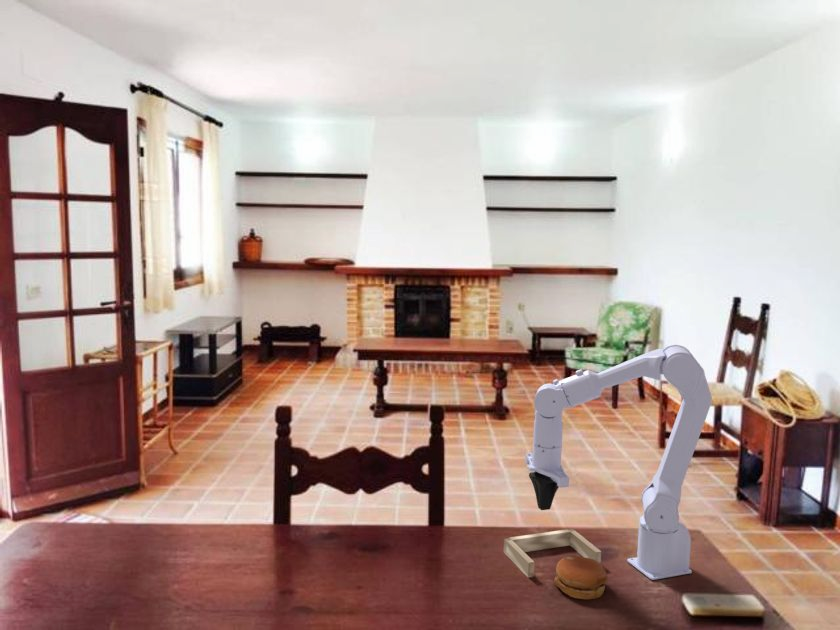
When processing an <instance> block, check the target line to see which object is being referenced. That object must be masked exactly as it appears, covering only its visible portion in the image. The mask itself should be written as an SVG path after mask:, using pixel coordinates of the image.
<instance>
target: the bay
mask: <svg viewBox="0 0 840 630" xmlns="http://www.w3.org/2000/svg"><path fill="white" fill-rule="evenodd" d="M567 546H570V547H571V548H572V549H574V550H575V551H576V552H577V553H578V554H579V555H581V557H583V558H590V559H594V560H596V561H597V562H599V563H600V564H601V562H602V551H601V550H600V549H599V548H598V547H596V546H595V545H594V544H593V543H592V542H590V541H589V540H587V539H586V538H585V537H584V536H583V535H581V534H580V533H578V532H577V530H575V529H573V528H568V529H559V530H554V531H545V532H539V533H533V534H525V535H518V536H511V537H504V538H503V553H504V554H505V556H506V557H508V559H510V561H512V563H513V564H514V565H515V566H516V567H517V568H518V569H519V570H520V571H521V573H523V574H524V575H525V576H526V577H527V578H533V577H534V576H535V561H534V560H533V559H532V558H531V557H530V556H529V555H528V554H527V553H528V552H535V551H540V550H541V551H542V550H549V549H553V548H562V547H567ZM526 552H527V553H526ZM601 565H602V564H601Z"/></svg>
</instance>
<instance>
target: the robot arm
mask: <svg viewBox="0 0 840 630" xmlns="http://www.w3.org/2000/svg"><path fill="white" fill-rule="evenodd" d="M661 375H663V377H664V379H666V381H667V382H668V383H669V384H670V385H671V386H673V387H674V388H676V390H677V392H678V393H679V395H680V396H681V398H682V401H681V403H680V407H679V408H678V409H679V410H678V412H677V414H676V418H675V420H674V423H673V426H672V429H671V433H670V435H669V438H668V441H667V443H666V447H665V449H664V451H663V455H662V458H661V461H660V464H659V465H658V466H659V467H658V469H657V472H656V473H655V474H654V475H653V476H652V479H651V482H650V484H649V485H647V487H645V488H644V489H643V491H642V493H641V497H640V500H641V505H642V508H643V515H641V516H640V518H639V519H638V537H637V553H636V557H631V558H627V563H629V564H630V565H631V566H633V567H635V568H636V569H637V570H638V571H639V572H641V573H642V574H643V575H645V577H647V578H648V579H650V580H652V581H654V580H655V581H656V580H660V579H665V578H672V577H677V576H682V575H683V576H684V575H688V574H692V572H693V571H692V569H690V557H691V547H692V546H691V544H692V543H691V542H692V541H691V540H692V539H691V534H690V532H689V529H688V528H687V527H686V526H685V524H683V523H682V522H681V521H680V514H679V505H680V504H681V503H680V502H681V497H682V487H683V483H684V482H685V477H686V475H687V472H688V469H689V466H690V463H691V461H692V458H693V455H694V452H695V451H696V447H697V444H698V442H699V438H700V436H701V433H702V430H703V428H704V425H705V421H706V419H707V417H708V414H709V410H710V407H711V406H712V402H713V397H712V394H711V391H710V387H709V384H708V381H707V378H706V373H705V370H704V368H703V367H702V365H701V364H700V363H699V362H698V360H697V359H696V357H694V355H693V354H692V353H691V352H690V350H689V349H687V347H685V346H683V345H681V344H671V345H668V346H666V347H664V348H657V349H653V350H650V351H648V352H646V353H643V354H640V355H638V356H636V357H634V358H633V357H632V358H631V359H628V360H626V361H623V362H622V363H619V364H617V365H614V366H612V367H609V368H607V369H604V370H603V371H600V372H596V371H592V370H589V369H587V370H583V369H582V368H580V369H578V370H576V371H575V374H574V375H571V376H569V377H565V378H562V379H560V380H559V378H556V379H554V380H552V383H545V384H542V385H540V387H539V388H538V389H537V391H536V393H535V396H534V397H533V398H534V399H533V403H534V404H533V406H534V408H535V411H534V417H535V419H534V421H533V433H532V434H533V435H532V437H533V439H532V452H531V453H525V460H524V462H525V464H526V470H528V471H529V473H528V477H529V480H530V481H531V483H532V486H533V489H534V493H535V497H536V503H537V508H538V509H539V510H540V511H546V510H551V507H552V504H553V502H554V498H555V496H556V493H557V491H558V489H559V488H567V487H569V485H570V477H569V476H568V475H567V474H566V472H565V471H564V468H563V466H562V450H563V449H562V448H563V428H564V424H563V423H564V422H563V418H562V417H563V411H564V409H571V408H574V407H576V406H579V405H583V404H584V403H587V402H590V401H593V400H596V399H599V398H601V395H602V392H603V391H604V389H608V388H611V387H614V386H617V385H620V384H624V383H627V382H629V381H633V380H636V379H639V378H644V377H646V378H650V379H653V380H657V381H661V380H662V379H661Z"/></svg>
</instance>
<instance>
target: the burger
mask: <svg viewBox="0 0 840 630" xmlns="http://www.w3.org/2000/svg"><path fill="white" fill-rule="evenodd" d="M556 564H557V565H556V567H555V572H556V574H555V576H554V583H555V586H556V587H557V588H559V589H560V590H561V591H562V592H563V593H564V594H565V595H567V596H569V597H571V598H573V599H577V600H594V599H598V598H600V597H602V596H603V594H604V591H605V588H606V585H605V584H607V582H608V579H609V577H608V573H607V572H606V569H605V568H604V566H603V565H602V564H600V563H599V562H597V561H596V560H594V559H590V558H584V557H583V556H578V555H572V554H571V555H569V556H564V557H563V558H561V559H560V560H559V561H558V563H556Z"/></svg>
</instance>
